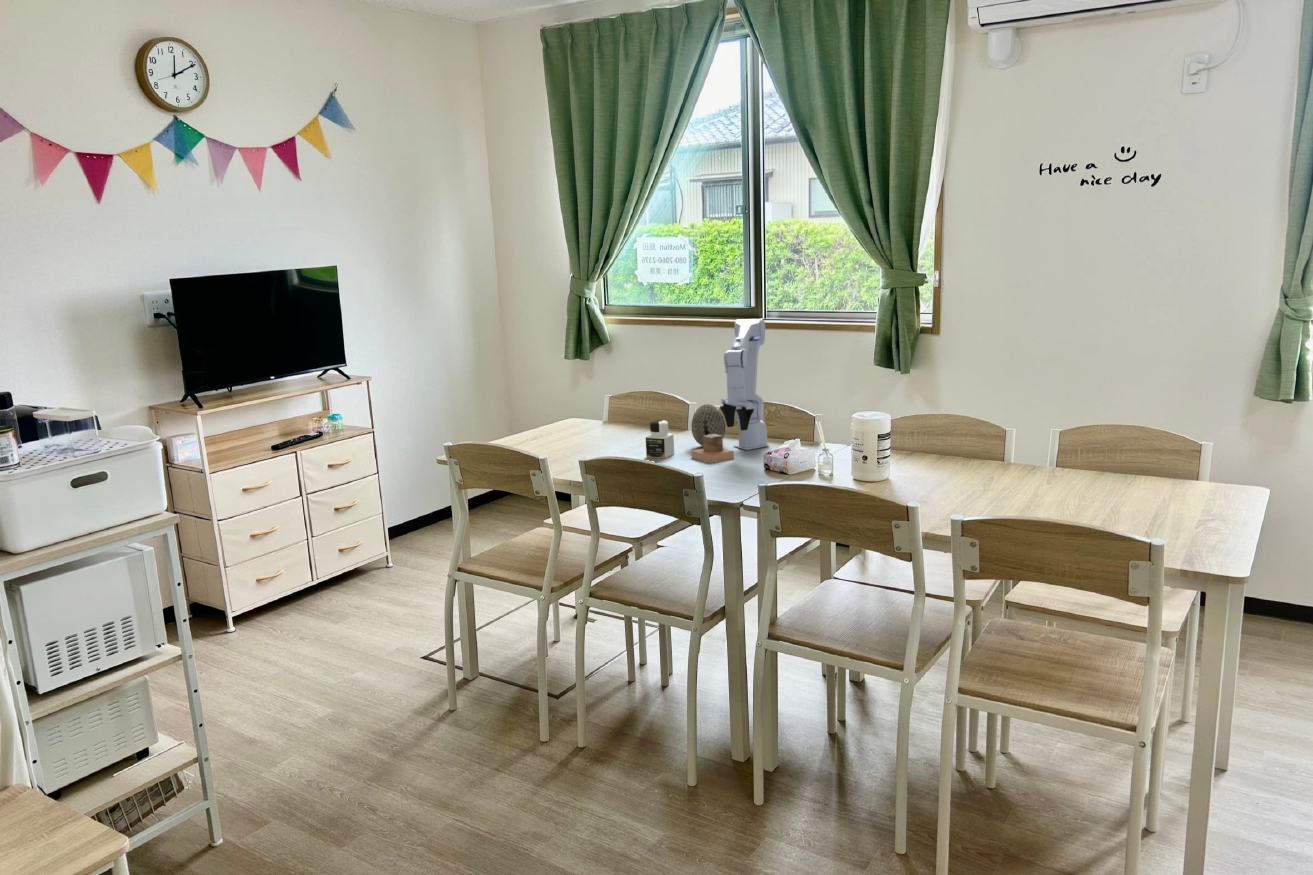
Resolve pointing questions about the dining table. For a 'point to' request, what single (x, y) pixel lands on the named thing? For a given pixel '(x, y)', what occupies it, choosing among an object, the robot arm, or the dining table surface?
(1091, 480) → the dining table surface
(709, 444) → the walnut block
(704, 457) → the terracotta slab
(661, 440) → the medicine bottle
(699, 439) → the decorative egg
